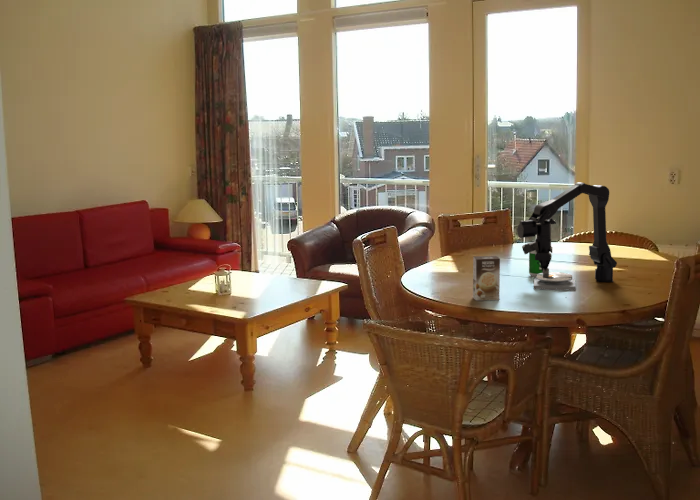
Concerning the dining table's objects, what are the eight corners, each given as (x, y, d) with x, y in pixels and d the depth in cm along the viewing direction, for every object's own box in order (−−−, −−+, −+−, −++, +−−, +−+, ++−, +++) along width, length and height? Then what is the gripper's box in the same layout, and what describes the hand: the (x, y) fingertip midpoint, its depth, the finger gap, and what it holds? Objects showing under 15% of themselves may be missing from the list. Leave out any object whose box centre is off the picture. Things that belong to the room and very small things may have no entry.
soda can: (534, 278, 318) (534, 250, 316) (525, 274, 325) (525, 247, 323) (550, 276, 320) (550, 249, 318) (541, 273, 327) (541, 246, 325)
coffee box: (476, 301, 282) (475, 259, 279) (472, 297, 288) (472, 256, 285) (500, 300, 282) (500, 258, 279) (496, 296, 288) (496, 255, 285)
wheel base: (574, 282, 308) (574, 275, 307) (575, 290, 294) (575, 283, 293) (534, 281, 312) (534, 274, 312) (533, 289, 298) (533, 282, 297)
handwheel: (532, 275, 309) (532, 264, 308) (565, 274, 309) (565, 263, 309) (542, 282, 295) (542, 271, 294) (577, 281, 296) (577, 269, 295)
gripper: (524, 232, 310) (525, 268, 313) (521, 239, 293) (522, 278, 296) (552, 231, 307) (552, 268, 310) (550, 239, 290) (551, 278, 292)
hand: (544, 273), depth 302 cm, fingers closed
